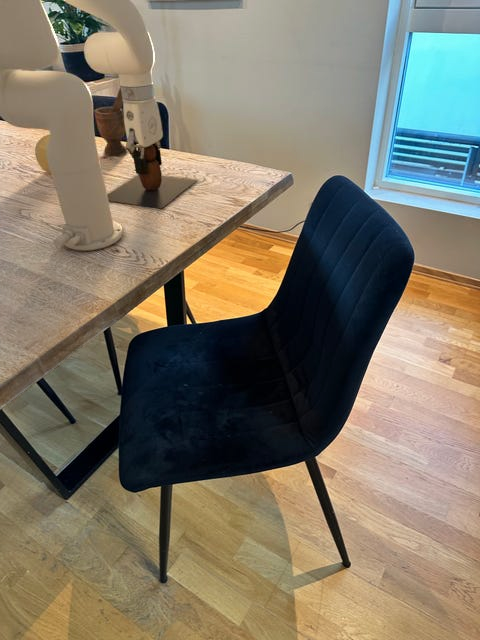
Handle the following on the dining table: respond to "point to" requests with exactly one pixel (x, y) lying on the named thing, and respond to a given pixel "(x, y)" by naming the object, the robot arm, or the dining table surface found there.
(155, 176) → the wooden figurine
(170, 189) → the mat
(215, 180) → the dining table surface
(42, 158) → the sculpture
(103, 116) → the mortar and pestle
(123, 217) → the dining table surface
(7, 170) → the dining table surface
